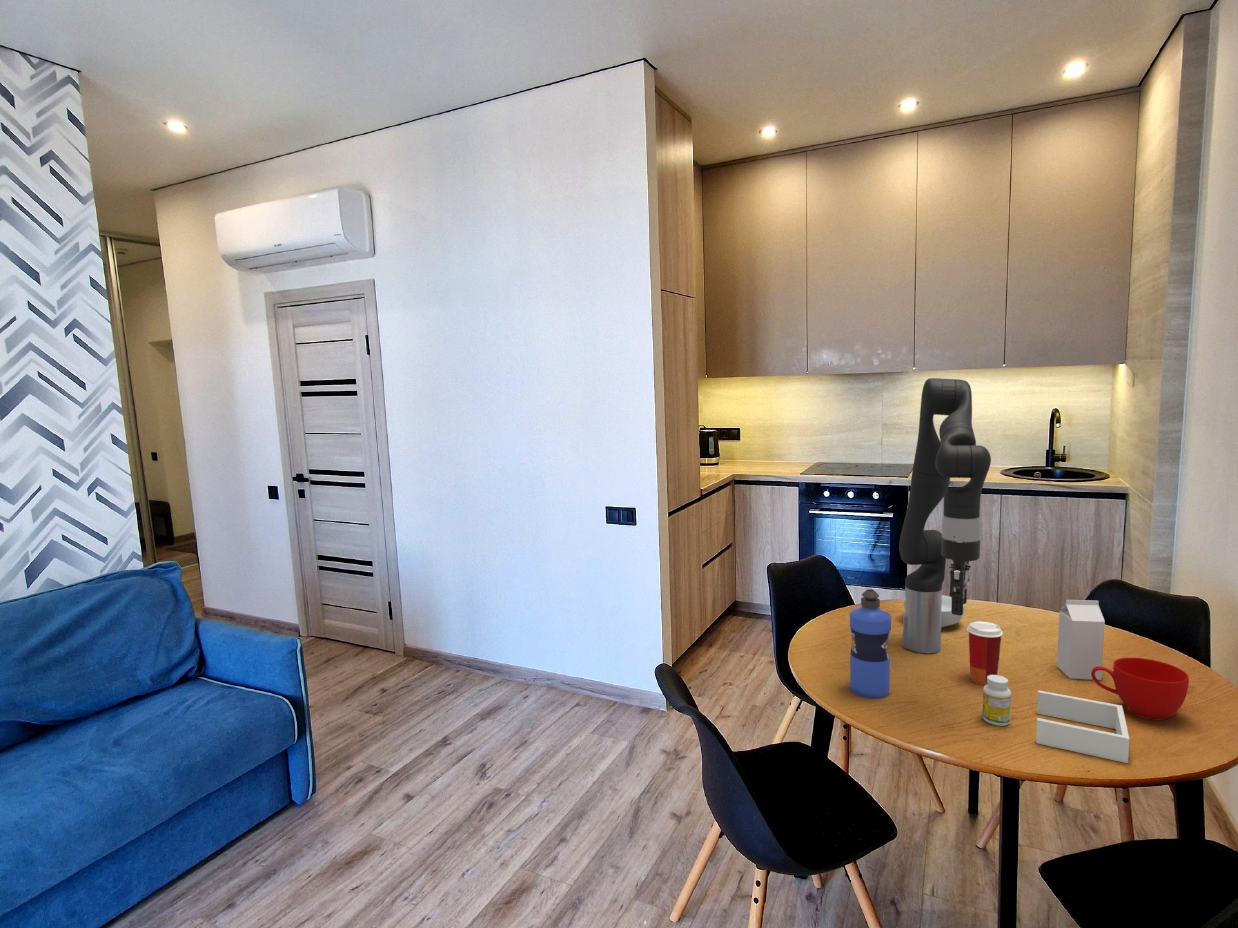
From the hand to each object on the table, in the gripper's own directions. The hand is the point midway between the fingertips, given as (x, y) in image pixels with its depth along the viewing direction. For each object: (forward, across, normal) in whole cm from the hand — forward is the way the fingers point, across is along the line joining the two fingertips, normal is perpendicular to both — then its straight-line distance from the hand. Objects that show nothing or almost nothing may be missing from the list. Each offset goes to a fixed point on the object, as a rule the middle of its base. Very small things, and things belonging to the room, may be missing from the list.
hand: (959, 608), depth 147 cm
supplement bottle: (+24, 0, +8) cm, 25 cm away
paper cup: (+24, -20, +4) cm, 32 cm away
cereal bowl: (+24, -56, -12) cm, 62 cm away
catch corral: (+24, -1, +23) cm, 33 cm away
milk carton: (+24, -35, +24) cm, 49 cm away
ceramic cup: (+24, -19, +34) cm, 46 cm away
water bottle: (+24, -2, -19) cm, 31 cm away
